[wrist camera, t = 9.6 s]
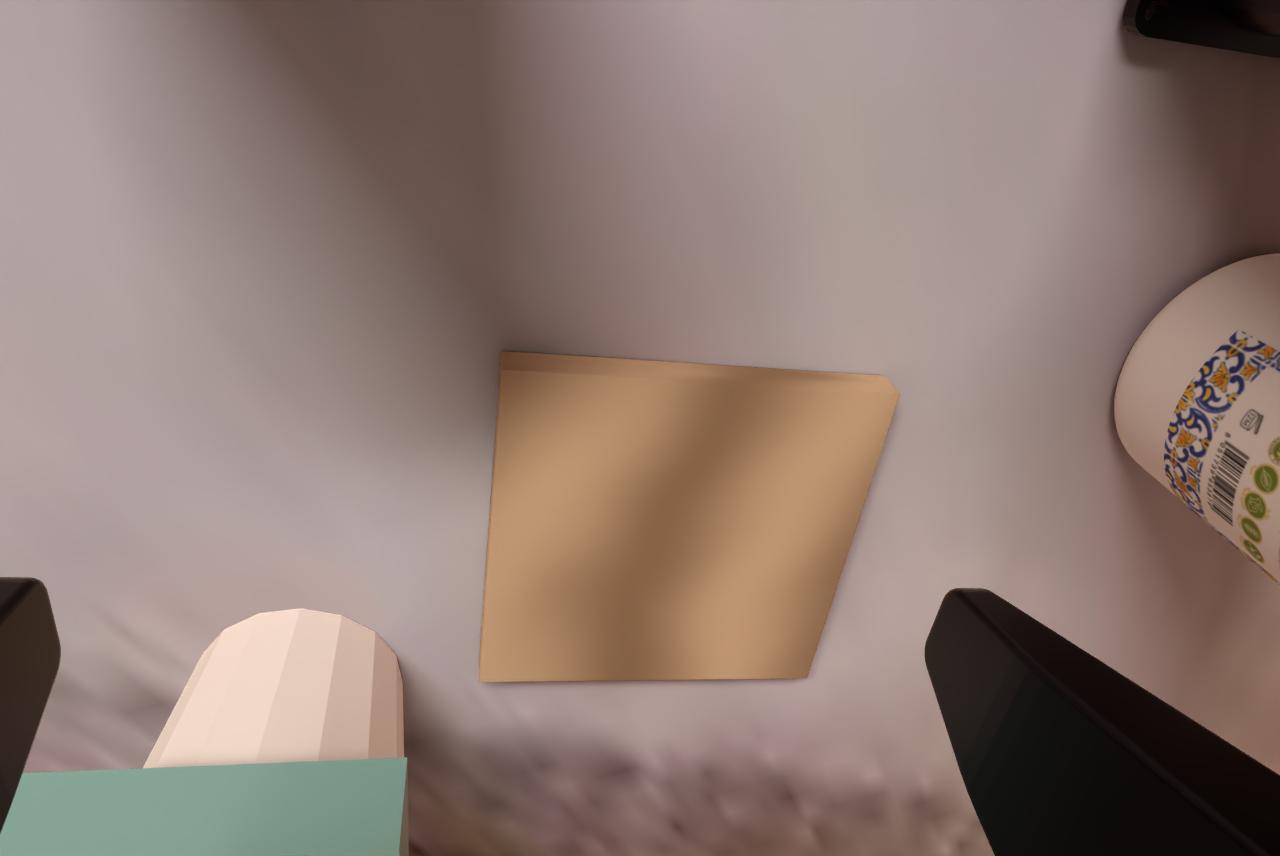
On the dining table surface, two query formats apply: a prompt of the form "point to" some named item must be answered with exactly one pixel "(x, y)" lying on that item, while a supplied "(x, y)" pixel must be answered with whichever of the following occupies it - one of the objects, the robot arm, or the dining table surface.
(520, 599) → the mat
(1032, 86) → the dining table surface
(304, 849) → the lid
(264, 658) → the cream round container
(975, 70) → the dining table surface
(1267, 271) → the bath foam
